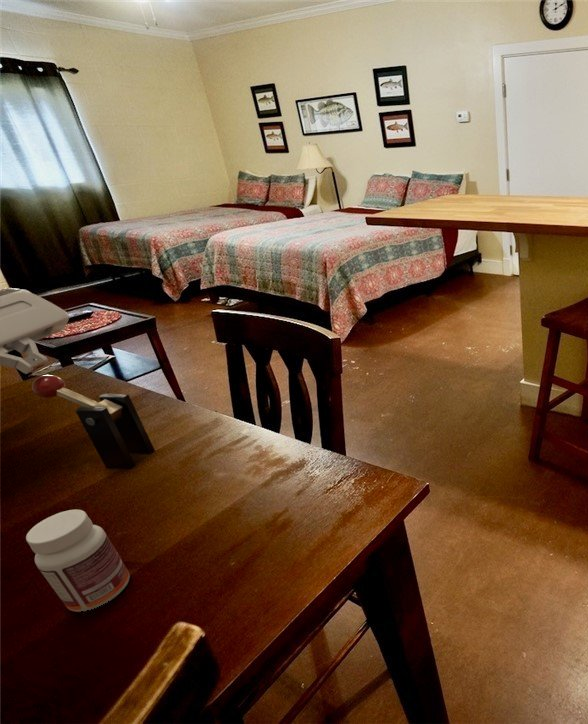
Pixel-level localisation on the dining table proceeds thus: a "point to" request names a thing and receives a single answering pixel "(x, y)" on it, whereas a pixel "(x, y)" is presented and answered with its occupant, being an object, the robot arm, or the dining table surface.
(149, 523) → the dining table surface
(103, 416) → the bracket
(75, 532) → the pill bottle
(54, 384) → the lever
